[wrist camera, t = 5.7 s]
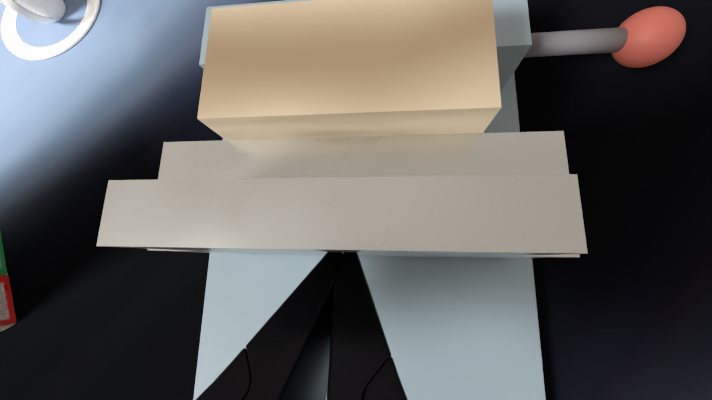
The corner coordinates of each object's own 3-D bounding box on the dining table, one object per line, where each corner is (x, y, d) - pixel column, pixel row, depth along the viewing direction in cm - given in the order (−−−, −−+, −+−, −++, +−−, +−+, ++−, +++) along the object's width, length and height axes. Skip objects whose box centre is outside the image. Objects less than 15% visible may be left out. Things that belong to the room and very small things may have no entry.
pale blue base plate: (686, 435, 13) (871, 543, 8) (205, 398, 15) (117, 463, 10) (617, 44, 16) (714, -46, 12) (240, 66, 19) (188, -1, 14)
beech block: (450, 176, 15) (501, 107, 8) (279, 178, 16) (197, 118, 9) (447, 104, 16) (491, -14, 9) (284, 110, 17) (211, 8, 10)
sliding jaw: (512, 258, 14) (712, 255, 5) (224, 253, 15) (17, 244, 7) (505, 174, 14) (667, 53, 6) (232, 178, 16) (55, 86, 8)
